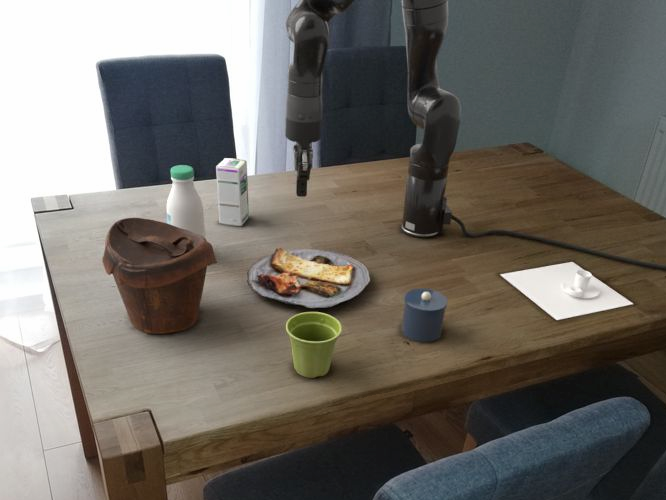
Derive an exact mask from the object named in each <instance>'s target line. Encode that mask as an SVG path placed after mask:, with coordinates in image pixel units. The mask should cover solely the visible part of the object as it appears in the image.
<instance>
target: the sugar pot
mask: <svg viewBox="0 0 666 500" xmlns="http://www.w3.org/2000/svg"><path fill="white" fill-rule="evenodd" d="M403 302H404V304H403V305H404V306H403V313H402V323H401V332H402V334H403V336H405V337H406V338H408V339H410V340H412V341H415V342H421V343H430V342H434V341H436V340H438V339H439V338H440V337H441V336H442V334H443V333H442V332H443V326H444V319H445V313H446V309H447V307H448V299H447V297H446V296H445V295H444V294H443V293H441V292H440V291H437V290H435V289H429V288H413V289H411V290H409V291H407V292H406V293H405V294H404V296H403Z"/></svg>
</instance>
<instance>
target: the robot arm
mask: <svg viewBox="0 0 666 500" xmlns="http://www.w3.org/2000/svg"><path fill="white" fill-rule="evenodd" d="M355 1H356V0H299V1H298V2H297V3H296V5H295V6H294V7H293V8H292V9H291V11H290V12H289V14H288V16H287V18H286V21H285V24H284V25H285V27H284V29H285V34H286V36H287V38H288V39H289V41H290V42H292V43H293V55H292V57H293V58H292V62H291V63H290V64H289V65H288V70H287V90H286V91H287V93H286V99H285V100H286V101H285V130H284V131H285V132H284V134H285V135H284V136H285V138H286V139H287V140H288V141H291V142H293V143H295V144H293V145H292V153H293V166H294V171H295V172H294V173H295V174H294V175H295V179H296V180H295V181H296V182H295V183H296V185H295V193H296V196H297V197H300V198H302V197H303V198H304V197H307V195H308V181H310V177H311V172H312V171H311V170H312V166H313V165H312V159H313V157H314V149H313V147H312V143H317V142H319V141H320V140H321V139H322V129H323V111H324V109H323V108H324V107H323V106H324V104H323V83H324V82H323V81H324V75H323V73H324V67H325V65H326V61H327V55H328V51H329V44H330V30H329V29H330V28H329V24H328V23H329V22H330V21H331V20H332V19H333V18H334V17H335V16H336V15H338V14H339V15H340V14H343V13H345V12H346V11H347V10H349V8H350V7H351V6H352V5H353V3H354V2H355ZM401 11H402V20H403V28H404V37H405V50H406V51H405V53H406V62H407V112H408V115H409V118H410V120H411V122H412V123H413V124H414V125H415V126H416V127H418V128H420V129H422V130H423V135H422V140H421V143H417V144H414V145H412V147H410V150H409V157H408V167H407V168H408V169H407V176H406V185H405V194H404V202H403V203H404V204H403V213H402V219H401V228H400V229H401V230H402V232H403V233H404V234H406V235H408V236H412V237H416V238H433V237H436V236H441V235H443V228H444V226H446V225H447V226H450V225H451V221H452V220H453V221H455V222H456V223H457V224H458V225H459V226H460V228H461V231H462V233H463V235H464V236H466V237H468V238H477V237H483V236H487V235H492V234H493V235H494V234H499V235H500V234H502V235H508V236H515V237H519V238H523V239H528V240H533V241H538V242H542V243H547V244H550V245H551V244H552V245H556V246H559V247H562V248H563V247H564V248H568V249H570V250H571V249H572V250H576V251H579V252H583V253H588V254H591V255H595V256H600V257H604V258H607V259H611V260H617V261H621V262H625V263H629V264H633V265H639V266H642V267H643V266H644V267H647V268H648V267H649V268H652V269H653V268H654V269H659V270H665V271H666V265H663V264H657V263H652V262H646V261H641V260H638V259H633V258H629V257H624V256H619V255H614V254H611V253H606V252H603V251H599V250H594V249H590V248H586V247H582V246H578V245H574V244H571V243H567V242H564V241H563V242H562V241H558V240H554V239H551V238H545V237H540V236H536V235H532V234H531V235H530V234H526V233H521V232H517V231H512V230H507V229H506V230H505V229H490V230H486V231H483V232H479V233H471V232H469V231H467V229H466V226H465V224H464V222H463V221H462V220H461V219H460V218H458V217H456V216H455V215H453V212H452V210H451V208H450V207H449V206H448V204H447V201H448V197H447V196H446V190H447V189H446V187H447V181H448V173H449V167H450V160H451V157H452V155H453V153H454V151H455V149H456V145H457V139H458V134H459V130H460V126H461V125H460V124H461V119H462V106H461V102H460V99H459V98H458V97H457V96H456V95H455V94H453V93H451V92H449V91H447V90H445V89H442V88H441V86H440V82H439V81H440V80H439V72H438V71H439V70H438V60H439V54H440V51H441V49H442V46H443V44H444V42H445V38H446V35H447V33H448V28H449V23H450V22H449V20H450V19H449V17H450V16H449V0H401Z"/></svg>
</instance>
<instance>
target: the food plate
mask: <svg viewBox="0 0 666 500" xmlns="http://www.w3.org/2000/svg"><path fill="white" fill-rule="evenodd" d="M246 274H247V275H246V276H247V277H246V278H247V280H246V283H247V284H248V286H249V289H252V291H255V292H256V294H257V295H259V296H261V297H265V298H269V299H273V300H275V301H278V302H282V303H285V305H294V306H295V305H296V306H302V307H303V306H304V307H305V308H307V309H316V308H317V309H319V308H330V307H333V306H336V305H339V304H340V303H343V302H346V301H349V300H351V299H353V298H354V297H356V296H358V295H359V294H361V293H362V291H364V290H365V288H367V285H368V284H369V283H370V281H371V276H370V272H369V270H368V268H367V267H366V266H365V264H363V263H362V262H360V261H358V260H357V259H354V258H352V257H351V256H349V255H347V254H344V253H341V252H336V251H331V250H330V251H329V250H323V249H314V248H294V249H290V250H289V249H286V250H284V249H283V248H275V251H274V252H273V253H272V254H267V255H264V256H263V257H262V258H260V259H258V260H257V261H255V262H254V263H252V264H251V266H249V268H248V269H247V272H246Z"/></svg>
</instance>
